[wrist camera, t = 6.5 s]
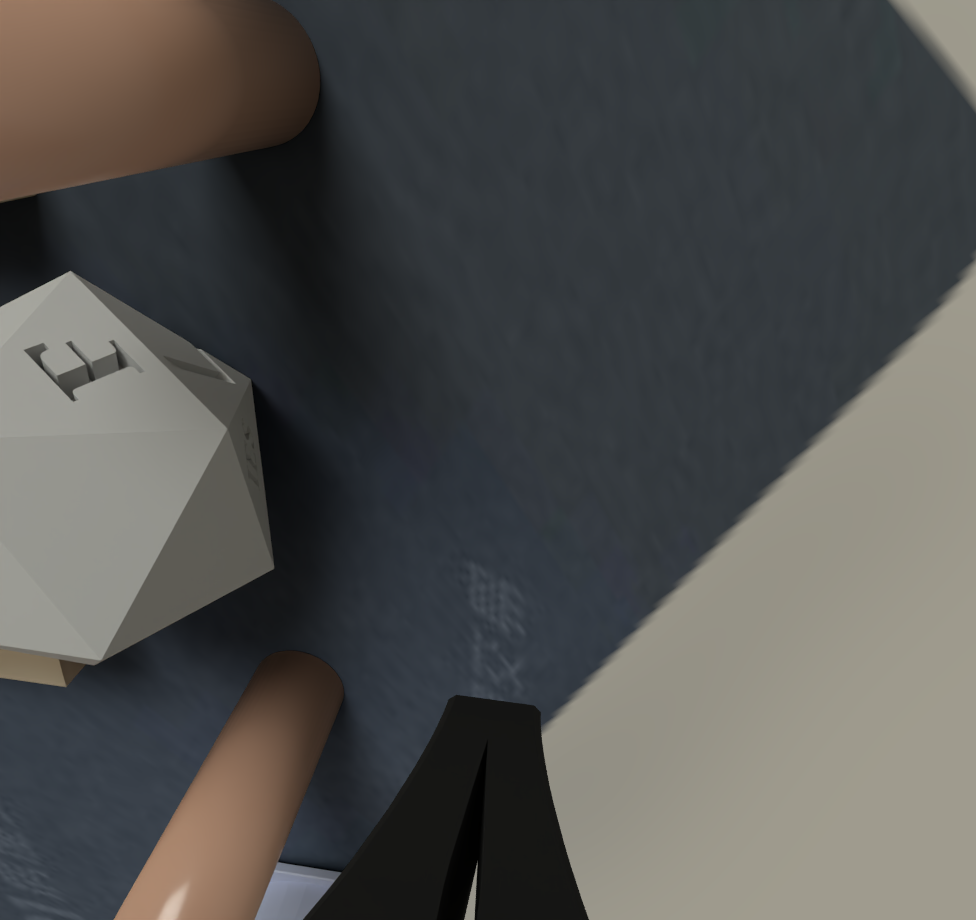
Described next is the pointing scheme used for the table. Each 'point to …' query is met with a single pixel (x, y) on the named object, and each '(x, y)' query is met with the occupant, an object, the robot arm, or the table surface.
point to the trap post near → (145, 86)
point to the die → (118, 475)
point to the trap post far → (242, 798)
